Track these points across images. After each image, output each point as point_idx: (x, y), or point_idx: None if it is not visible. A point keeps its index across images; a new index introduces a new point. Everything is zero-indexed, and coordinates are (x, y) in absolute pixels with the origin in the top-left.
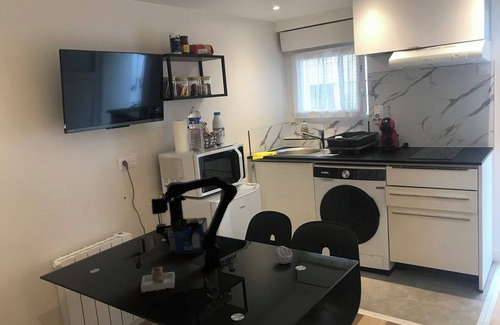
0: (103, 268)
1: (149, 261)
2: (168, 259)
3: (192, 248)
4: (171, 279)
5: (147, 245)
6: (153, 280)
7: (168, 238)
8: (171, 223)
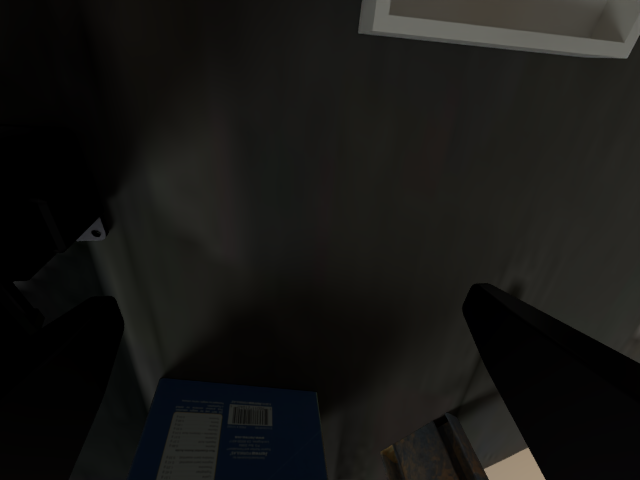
0: (630, 324)
1: (446, 343)
2: (358, 344)
3: (226, 409)
4: None
5: (432, 453)
6: None
7: (574, 438)
8: None
